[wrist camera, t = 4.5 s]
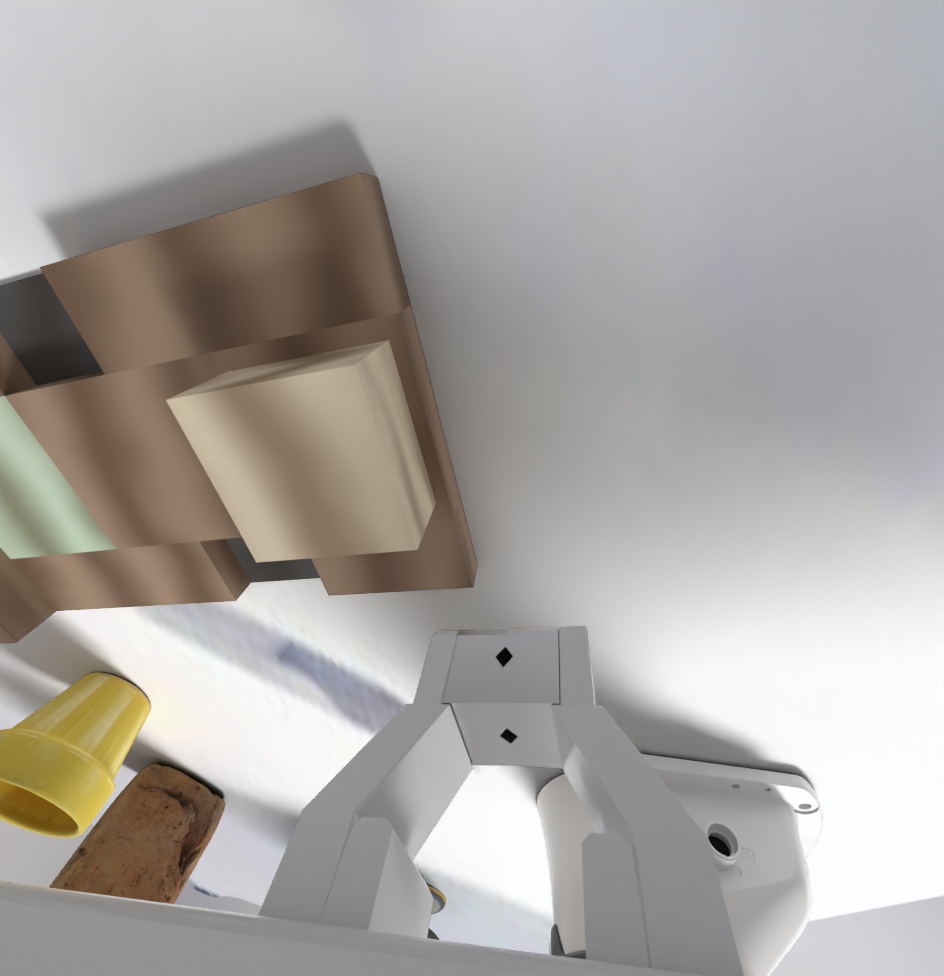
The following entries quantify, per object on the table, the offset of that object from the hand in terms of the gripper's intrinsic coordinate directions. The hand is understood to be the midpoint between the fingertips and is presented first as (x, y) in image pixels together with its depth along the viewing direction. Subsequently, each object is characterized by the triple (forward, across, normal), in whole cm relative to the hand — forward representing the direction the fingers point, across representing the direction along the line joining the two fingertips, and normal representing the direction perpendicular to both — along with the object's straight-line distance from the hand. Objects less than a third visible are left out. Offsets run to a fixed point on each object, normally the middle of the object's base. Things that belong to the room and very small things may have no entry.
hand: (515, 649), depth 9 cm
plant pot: (+15, +43, +23) cm, 51 cm away
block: (+15, +45, +39) cm, 62 cm away
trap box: (+15, +22, 0) cm, 27 cm away
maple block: (+13, +10, 0) cm, 17 cm away
